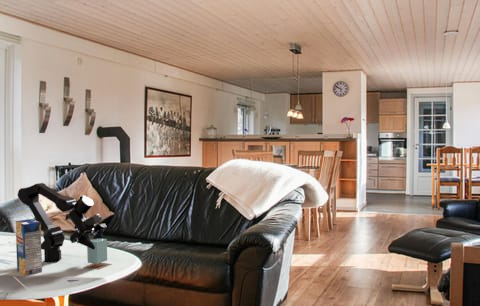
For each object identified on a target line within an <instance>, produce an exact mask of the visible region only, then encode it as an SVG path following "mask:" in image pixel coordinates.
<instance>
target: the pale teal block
mask: <svg viewBox="0 0 480 306" xmlns="http://www.w3.org/2000/svg"><path fill="white" fill-rule="evenodd" d="M90 240H91V242H92V243H93V245H94V247H95V249H94V250H93V249H91V248H89V247H87V246H86V247H87V248H86V253H87V254H86V255H87V263H88V264H93V263H94V264H99V263H105V262H107V261H108V239H107V238H104V239H101V238H96V239H94V238H92V239H90Z"/></svg>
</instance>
